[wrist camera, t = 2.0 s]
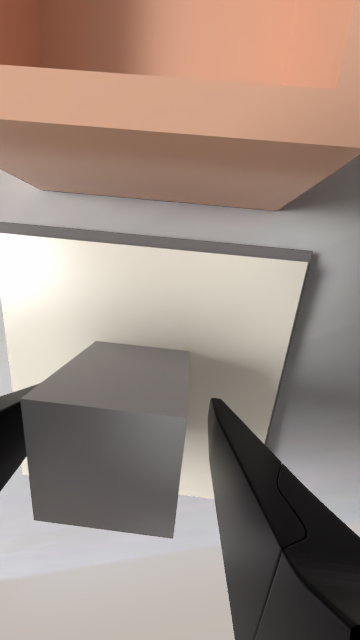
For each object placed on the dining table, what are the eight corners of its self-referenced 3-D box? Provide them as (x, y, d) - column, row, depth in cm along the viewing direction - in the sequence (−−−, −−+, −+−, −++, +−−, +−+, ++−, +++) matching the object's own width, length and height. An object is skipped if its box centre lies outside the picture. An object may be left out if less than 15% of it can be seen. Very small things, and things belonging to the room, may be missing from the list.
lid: (297, 262, 8) (432, 255, 4) (246, 487, 11) (284, 640, 7) (10, 235, 9) (-201, 196, 4) (33, 461, 12) (-71, 589, 7)
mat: (304, 252, 9) (312, 251, 8) (250, 484, 12) (253, 495, 11) (9, 224, 9) (-3, 221, 9) (33, 457, 12) (26, 466, 12)
